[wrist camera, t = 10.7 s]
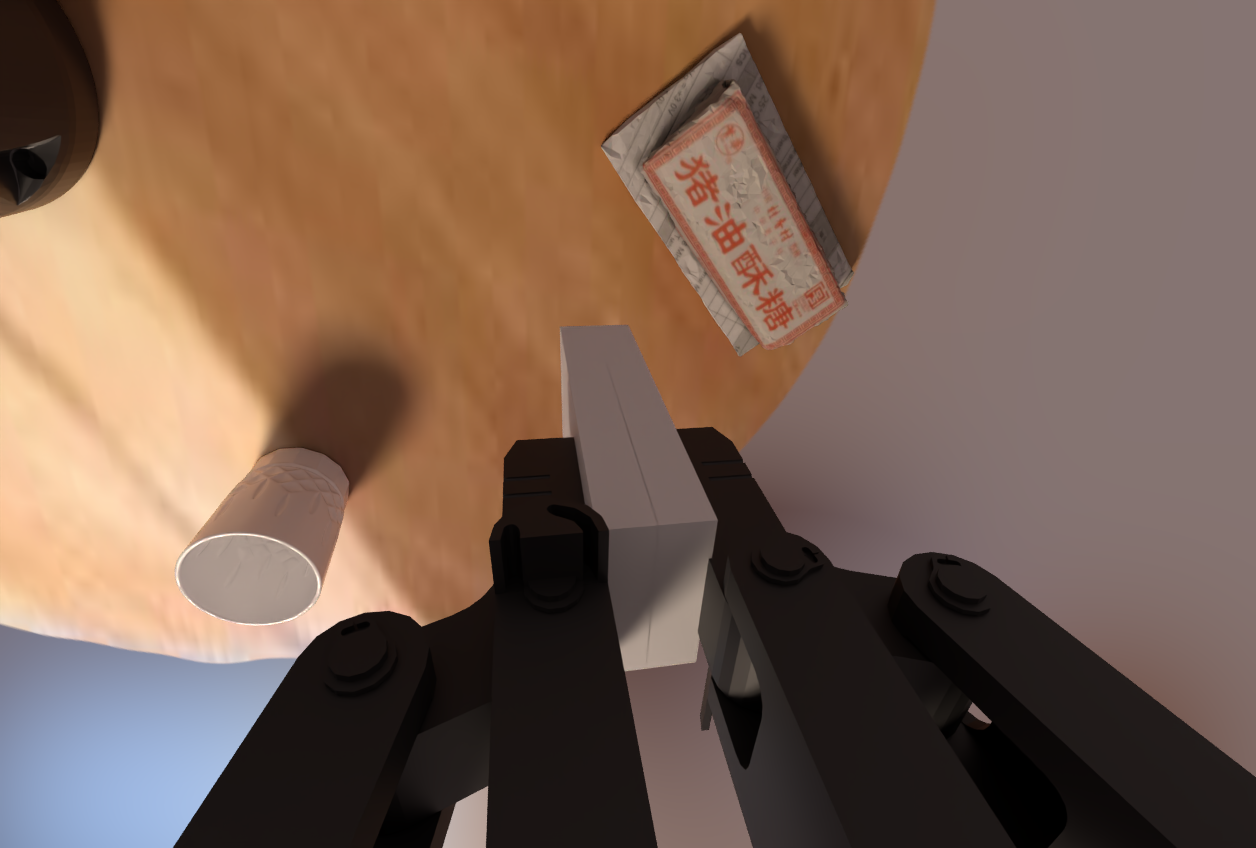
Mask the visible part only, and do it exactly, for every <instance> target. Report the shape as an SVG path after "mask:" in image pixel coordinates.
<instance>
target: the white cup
mask: <svg viewBox="0 0 1256 848" xmlns="http://www.w3.org/2000/svg"><path fill="white" fill-rule="evenodd" d="M348 496H349V481H348V479H347V477H346V475H345V473H344V472H343V470H342V468H341V466H339V465H338V464H337V463H335V462H334V461H332V460H331V459H330V458H328V457H327V456H326V455H324V454H322V453H318V452H315V451H311V450H308V449H305V448H283V449H278V450H275V451H273V452H271V453H269V454H267V455H265V456H263V457H261V458H260V459H259V460H258V462H257V463H256V464H255V466H254V467H253V468H252V469H251V471H250V472H249V473H248V474H247V476H246V477H245V478H244V479H243V480H242V481H241V482H239V483H238V484H237V485H236V487H235V488H234V489H233V490H232V491H231V492H230V493H229V495H228V496H227V497H226V498H225V499H224V500H223V502H222V503H221V504H220V505H219V507H218V508H217V509H216V511H215V512H214V513H213V514H212V516H211V517H210V518H209V519H208V521H207V522H206V523H205V524H204V526H203V527H202V528H201V530H200V531H199V532H198V533H197V535H196V536H195V537H194V538H193V540H192V541H191V542H190V543H189V545H188V546H187V547H186V548H185V550H184V551H183V552H182V553H181V555H180V556H179V558H178V560H177V562H176V566H175V579H176V583H177V585H178V587H179V589H180V591H181V593H182V594H183V595H184V596H185V598H186V599H187V600H188V601H189V602H190V603H192V604H193V605H194V606H195V607H197V608H198V609H200V610H201V611H203V612H205V613H207V614H209V615H211V616H213V617H216V618H218V619H221V620H224V621H228V622H232V623H237V624H243V625H272V624H278V623H283V622H286V621H289V620H292V619H294V618H297V617H299V616H301V615H302V614H304V613H305V612H307V611H308V610H309V609H310V608H311V607H312V606H313V605H314V604H315V603H316V601H317V600H318V598H319V596H320V593H321V590H322V587H323V583H324V580H325V577H326V574H327V570H328V567H329V564H330V561H331V558H332V555H333V552H334V549H335V545H336V542H337V539H338V535H339V531H340V528H341V524H342V520H343V516H344V510H345V507H346V504H347V501H348Z"/></svg>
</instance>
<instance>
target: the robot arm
mask: <svg viewBox="0 0 1256 848" xmlns="http://www.w3.org/2000/svg"><path fill="white" fill-rule="evenodd" d="M98 122H99V116H98V103H97V95H96V90H95V85H94V81H93V77H92V74H91V70H90V67H89V64H88V61H87V59H86V56H85V54H84V51H83V49H82V46H81V44H80V42H79V40H78V38H77V36H76V34H75V32H74V30H73V28H72V26H71V24H70V22H69V21H68V19H67V17H66V15H65V14H64V12H63V10H62V9H61V7H60V6H59V4H58V3H57V1H56V0H0V218H1V217H5V216H9V215H13V214H16V213H20V212H24V211H28V210H31V209H35V208H38V207H41V206H43V205H46V204H48V203H50V202H52V201H54V200H56V199H57V198H59V197H60V196H62V195H63V194H65V193H66V192H67V191H68V190H70V189H71V188H72V187H73V186H74V185H75V184H76V183H77V181H78V180H79V179H80V178H81V177H82V175H83V173H84V172H85V170H86V169H87V167H88V165H89V163H90V161H91V158H92V155H93V153H94V150H95V146H96V141H97V135H98ZM560 348H561V386H562V425H563V438H548V439H531V440H517V441H516V442H515V444H514V445H513V446H512V448H511V449H510V450H509V452H508V453H507V455H506V456H505V457H504V482H503V512H502V518H501V519H500V520H499V521H498V522H497V523H496V524H495V525H494V527H493V530H492V533H491V536H490V539H489V547H490V555H491V564H492V572H493V581H494V584H493V586H492V587H491V588H490V589H489V590H488V592H487V593H486V594H485V595H484V596H483V597H482V598H481V599H479V600H478V601H477V602H475V603H474V604H472V605H471V606H470V607H468V608H466V609H464V610H462V611H460V612H458V613H456V614H454V615H452V616H449V617H446V618H444V619H441V620H438V621H436V622H433V623H430V624H428V625H425V626H422V627H421V626H420V625H419V624H418V623H417V622H416V621H414V620H413V619H412V618H411V617H410V616H406V615H402V614H399V613H395V612H391V611H382V612H369V613H363V614H360V615H357V616H354V617H352V618H349V619H346V620H343V621H340V622H338V623H337V624H335V625H334V626H332V627H331V628H329V629H328V630H326V631H325V632H323V633H322V634H320V635H318V636H317V637H316V638H315V639H314V640H313V641H312V642H311V643H310V645H309V646H308V647H307V648H306V649H305V650H304V651H303V652H302V653H301V655H300V656H299V657H298V658H297V660H296V661H295V663H294V664H293V666H292V667H291V669H290V670H289V672H288V673H287V675H286V677H285V678H284V680H283V681H282V683H281V684H280V686H279V687H278V689H277V690H276V692H275V693H274V695H273V696H272V698H271V699H270V701H269V702H268V704H267V705H266V707H265V708H264V710H263V712H262V713H261V715H260V716H259V718H258V719H257V721H256V722H255V724H254V725H253V727H252V728H251V730H250V731H249V733H248V734H247V736H246V737H245V739H244V741H243V742H242V743H241V745H240V746H239V748H238V749H237V751H236V753H235V754H234V756H233V757H232V759H231V760H230V762H229V763H228V765H227V766H226V768H225V769H224V771H223V772H222V774H221V775H220V777H219V778H218V780H217V782H216V783H215V785H214V786H213V788H212V789H211V791H210V792H209V794H208V795H207V797H206V798H205V800H204V801H203V803H202V804H201V806H200V807H199V809H198V810H197V812H196V813H195V815H194V816H193V818H192V819H191V821H190V822H189V824H188V826H187V827H186V829H185V830H184V832H183V833H182V835H181V836H180V838H179V840H178V841H177V842H176V844H175V845H174V847H173V848H442V847H443V843H444V840H445V837H446V834H447V830H448V827H449V824H450V820H451V817H452V814H453V811H454V807H455V804H456V802H458V801H460V800H462V799H464V798H466V797H468V796H469V795H471V794H473V793H475V792H477V791H479V790H481V789H483V788H485V787H487V786H488V807H487V836H486V837H487V838H486V848H658V847H657V842H656V836H655V832H654V826H653V820H652V815H651V810H650V804H649V800H648V794H647V788H646V783H645V778H644V772H643V767H642V762H641V756H640V751H639V746H638V741H637V735H636V730H635V724H634V719H633V714H632V709H631V703H630V698H629V692H628V687H627V682H626V677H625V671H630V670H639V669H645V668H654V667H662V666H670V665H678V664H685V663H693V662H696V658H697V651H698V645H699V638H700V641H701V644H702V647H703V650H704V653H705V656H706V659H707V662H708V665H709V668H708V673H707V679H706V685H705V690H704V696H703V701H702V707H701V713H700V719H701V730H709V726H710V721H711V716H713V719H714V722H715V725H716V729H717V732H718V735H719V738H720V742H721V745H722V748H723V751H724V755H725V758H726V761H727V764H728V768H729V771H730V774H731V777H732V781H733V784H734V787H735V790H736V794H737V797H738V800H739V804H740V807H741V810H742V813H743V816H744V820H745V823H746V826H747V830H748V833H749V836H750V839H751V843H752V846H753V848H1256V777H1255V776H1253V775H1252V774H1251V773H1250V772H1248V771H1247V770H1246V769H1244V768H1243V767H1242V766H1241V765H1239V764H1238V763H1237V762H1235V761H1234V760H1233V759H1231V758H1230V757H1229V756H1228V755H1226V754H1225V753H1224V752H1222V751H1221V750H1219V749H1218V748H1217V747H1215V746H1214V745H1213V744H1212V743H1211V742H1209V741H1208V740H1207V739H1206V738H1204V737H1203V736H1202V735H1200V734H1199V733H1198V732H1196V731H1195V730H1194V729H1192V728H1191V727H1190V726H1189V725H1187V724H1186V723H1185V722H1184V721H1182V720H1181V719H1180V718H1178V717H1177V716H1176V715H1174V714H1173V713H1172V712H1171V711H1169V710H1168V709H1167V708H1165V707H1164V706H1163V705H1161V704H1160V703H1159V702H1158V701H1156V700H1155V699H1153V698H1152V697H1151V696H1150V695H1149V694H1147V693H1146V692H1145V691H1143V690H1142V689H1141V688H1139V687H1138V686H1137V685H1136V684H1134V683H1133V682H1132V681H1130V680H1129V679H1128V678H1126V677H1125V676H1124V675H1123V674H1121V673H1120V672H1119V671H1117V670H1116V669H1115V668H1114V667H1112V666H1111V665H1110V664H1108V663H1107V662H1106V661H1104V660H1103V659H1102V658H1101V657H1099V656H1098V655H1097V654H1095V653H1094V652H1093V651H1092V650H1090V649H1089V648H1087V647H1086V646H1085V645H1084V644H1082V643H1081V642H1080V641H1079V640H1077V639H1076V638H1075V637H1073V636H1072V635H1071V634H1069V633H1068V632H1067V631H1066V630H1064V629H1063V628H1062V627H1060V626H1059V625H1058V624H1057V623H1055V622H1054V621H1053V620H1051V619H1050V618H1049V617H1048V616H1046V615H1045V614H1044V613H1042V612H1041V611H1040V610H1038V609H1037V608H1036V607H1035V606H1033V605H1032V604H1031V603H1029V602H1028V601H1027V600H1025V599H1024V598H1023V597H1022V596H1020V595H1019V594H1018V593H1016V592H1015V591H1014V590H1012V589H1011V588H1010V587H1009V586H1007V585H1006V584H1005V583H1004V582H1002V581H1001V580H1000V579H998V578H997V577H996V576H994V575H993V574H991V573H989V572H988V571H986V570H985V569H983V568H981V567H980V566H978V565H976V564H974V563H972V562H969V561H967V560H964V559H962V558H959V557H956V556H954V555H948V554H941V553H935V552H929V553H922V554H915V555H913V556H912V557H910V558H909V559H907V560H906V561H904V562H903V564H902V567H901V569H900V571H899V574H898V576H897V578H893V577H887V576H881V575H874V574H868V573H861V572H855V571H849V570H844V569H840V568H836V567H834V566H833V565H832V563H831V562H830V560H829V559H828V558H827V557H826V556H825V555H824V553H823V552H822V551H821V550H820V549H819V548H818V547H817V546H815V545H814V544H812V543H810V542H809V541H807V540H805V539H804V538H802V537H800V536H798V535H794V534H791V533H788V532H786V531H785V529H784V527H783V526H782V524H781V522H780V521H779V519H778V517H777V516H776V514H775V512H774V511H773V509H772V507H771V506H770V504H769V502H768V501H767V499H766V497H765V496H764V494H763V493H762V491H761V489H760V487H759V486H758V484H757V482H756V481H755V479H754V478H752V476H751V473H750V471H749V469H748V467H747V466H746V464H745V463H743V459H742V457H741V456H740V454H739V452H738V451H737V449H736V447H735V446H734V444H733V442H732V441H731V440H729V439H728V438H727V437H725V436H724V435H722V434H721V433H720V432H718V431H717V430H716V429H714V428H713V427H704V428H687V429H676V428H675V426H674V424H673V421H672V419H671V417H670V415H669V413H668V411H667V408H666V406H665V404H664V402H663V400H662V398H661V395H660V393H659V391H658V389H657V387H656V384H655V382H654V380H653V378H652V376H651V374H650V371H649V369H648V367H647V365H646V363H645V361H644V358H643V356H642V354H641V352H640V350H639V347H638V345H637V343H636V341H635V339H634V337H633V334H632V332H631V330H630V328H629V326H628V325H605V326H567V327H560ZM972 702H973V703H974V704H975V705H976V706H977V707H978V708H979V709H980V710H981V711H982V712H983V713H984V714H985V715H986V716H987V717H988V718H989V719H990V720H991V721H992V722H991V724H989V723H985V722H983V721H980V720H978V719H977V718H976V717H974V716H973V715H972V714H971V713H969V712H968V709H969V708H970V706H971V704H972Z"/></svg>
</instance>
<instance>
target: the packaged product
mask: <svg viewBox="0 0 1256 848" xmlns="http://www.w3.org/2000/svg"><path fill="white" fill-rule="evenodd" d="M601 148H602V149H603V151H604V152H605V154H606V155H607V157H608V159H609V160H610V162H611V163H612V165H613V167H614V168H615V170H616V171H617V173H618V174H619V176H620V178H621V179H622V181H623V183H624V184H625V186H626V187H627V189H628V191H629V192H630V194H631V195H632V197H633V199H634V200H635V202H636V203H637V205H638V206H639V207H640V209H641V210H642V212H643V213H644V214H645V216H646V217H647V219H648V220H649V222H650V223H651V224H652V226H653V227H654V229H655V230H656V232H657V233H658V235H659V236H660V237H661V239H662V240H663V242H664V243H665V245H666V246H667V248H668V249H669V250H670V252H671V253H672V255H673V256H674V258H675V260H676V262H677V263H678V265H679V266H680V268H681V270H682V271H683V273H684V275H685V276H686V277H687V279H688V280H689V281H690V283H691V285H692V286H693V288H694V289H695V290H696V291H697V293H698V294H699V295H700V297H701V298H702V301H703V303H704V304H705V306H706V308H707V309H708V311H709V312H710V314H711V315H712V317H713V318H714V320H715V321H716V323H717V324H718V325H719V327H720V328H721V329H722V331H723V332H724V333H725V335H726V336H727V337H728V339H729V340H730V342H731V344H732V345H733V347H734V349H735V350H736V352H737V354H738V355H739V356H742V355H743V354H744V353H746V352H747V351H749V350H751V349H752V348H754V347H755V346H757V345H758V344H759V343H760V344H761V346H762V347H763V348H765V349H766V350H773V349H776V348H778V347H781V346H784V345H790V344H791V343H793V342H794V340H795V339H796V338H797V337H799V336H800V335H803V334H804V333H805V332H807V331H808V330H809V329H811V328H812V327H814V326H818V325H819V324H821V323H822V322H823V321H826V320H828V318H829V317H830V316H832V315H833V314H835V313H836V312H838V311H840V310H841V309H843V308H845V307H846V306H847V305H848V302H847V300H846V299H845V295H844V293H843V292H841V290H840V288H842V287H843V286H846V285H847V284H848V283H849V281H850V279H851V277H852V276H853V274H854V272H853V271H852V269H851V267H850V265H849V264H848V262H847V259H846V257H845V255H844V253H843V251H842V248H841V246H840V244H839V242H838V240H837V238H836V236H835V234H834V232H833V230H832V228H831V225H830V223H829V221H828V219H827V217H826V215H825V213H824V210H823V208H822V206H821V204H820V202H819V200H818V198H817V196H816V193H815V191H814V188H813V186H812V184H811V181H810V179H809V178H808V176H807V174H806V172H805V170H804V167H803V165H802V163H801V161H800V159H799V157H798V155H797V153H796V150H795V149H794V147H793V144H792V142H791V140H790V137H789V135H788V133H787V132H786V130H785V128H784V126H783V123H782V121H781V119H780V116H779V114H778V112H777V109H776V107H775V105H774V103H773V101H772V99H771V97H770V95H769V93H768V91H767V88H766V86H765V84H764V81H763V79H762V77H761V75H760V73H759V71H758V69H757V66H756V64H755V62H754V61H753V59H752V57H751V55H750V52H749V50H748V49H747V46H746V43H745V41H744V38H743V36H742V34H741V33H739V34H737V35H735V36H734V37H732V38H731V39H729V40H728V41H726V42H725V43H723V44H722V45H720V46H719V47H717V48H715V49H714V50H713V51H712V52H711V53H709V54H708V55H707V56H706V57H705V58H704V59H703V60H702V61H700V62H699V63H698V64H697V65H696V66H695V67H694V68H693V69H691V70H690V71H689V72H688V73H687V74H686V75H685V76H684V77H682V78H681V79H680V80H678V81H677V82H675V83H674V84H673V85H671V86H670V87H669V88H667V89H666V90H664V91H663V92H662V93H660V94H659V95H658V96H657V97H655V98H654V99H653V100H652V101H650V102H649V103H648V104H646V105H645V106H644V107H643V108H641V109H640V110H639V111H638V112H636V113H635V114H634V115H632V116H631V117H630V118H629V119H627V120H626V121H625V122H624V123H623V124H622V125H621V126H620V127H619V128H618V129H617V130H616V131H615V132H614V133H613V134H612V135H611V136H610V137H609V138H608V139H607V140H606V141H605V142H604V143H603V144H602V145H601Z"/></svg>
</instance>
